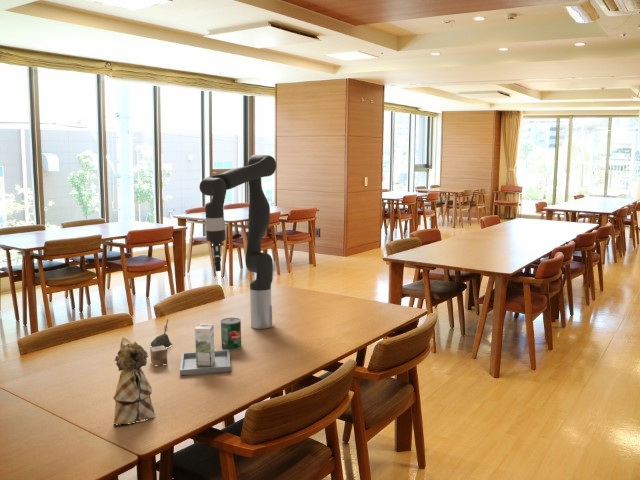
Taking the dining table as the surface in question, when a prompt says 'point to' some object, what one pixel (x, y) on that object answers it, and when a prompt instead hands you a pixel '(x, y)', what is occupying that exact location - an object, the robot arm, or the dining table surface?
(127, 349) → the plush toy
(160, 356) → the walnut block
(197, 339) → the syrup box
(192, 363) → the slate tray
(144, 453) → the dining table surface
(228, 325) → the canned tomato
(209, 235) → the robot arm
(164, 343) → the sword in stone
